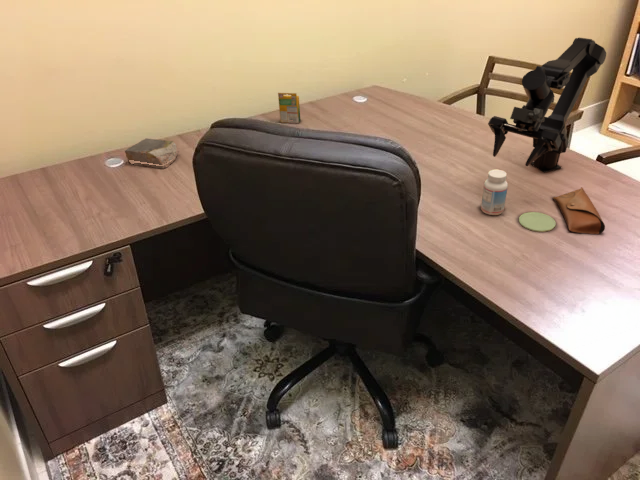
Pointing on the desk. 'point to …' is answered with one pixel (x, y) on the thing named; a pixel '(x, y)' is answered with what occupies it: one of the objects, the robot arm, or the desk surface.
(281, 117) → the crayon box
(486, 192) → the pill bottle
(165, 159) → the geological specimen
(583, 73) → the robot arm
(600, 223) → the sunglasses case
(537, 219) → the felt coaster
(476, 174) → the desk surface
